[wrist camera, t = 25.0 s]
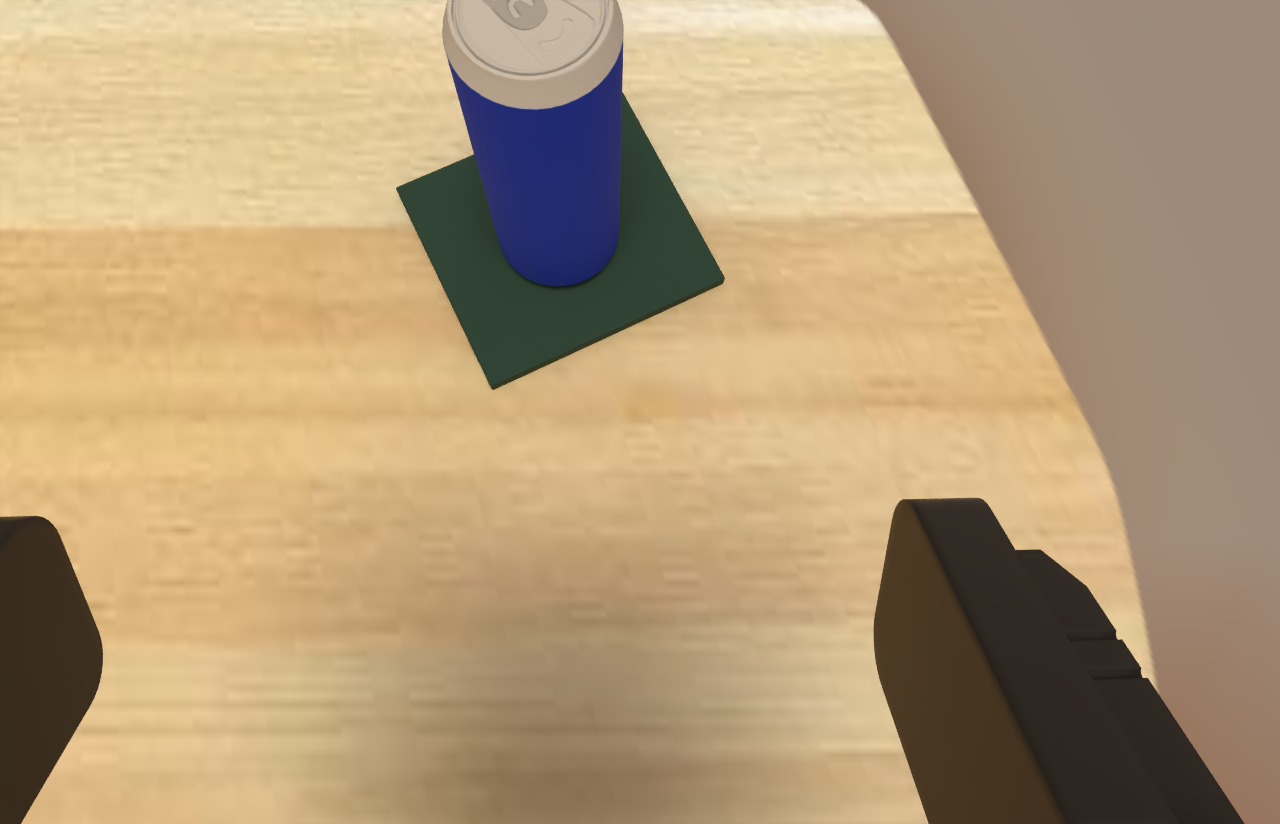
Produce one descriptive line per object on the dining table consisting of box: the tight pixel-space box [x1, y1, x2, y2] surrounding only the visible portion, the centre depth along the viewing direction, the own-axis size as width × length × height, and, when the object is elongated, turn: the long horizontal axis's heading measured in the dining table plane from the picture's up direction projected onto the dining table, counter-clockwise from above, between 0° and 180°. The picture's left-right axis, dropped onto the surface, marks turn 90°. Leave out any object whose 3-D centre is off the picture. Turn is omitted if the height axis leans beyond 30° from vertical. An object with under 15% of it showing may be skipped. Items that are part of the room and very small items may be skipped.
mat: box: [396, 92, 725, 389], centre depth 41 cm, size 11×10×1 cm
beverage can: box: [442, 0, 623, 286], centre depth 33 cm, size 5×5×15 cm
